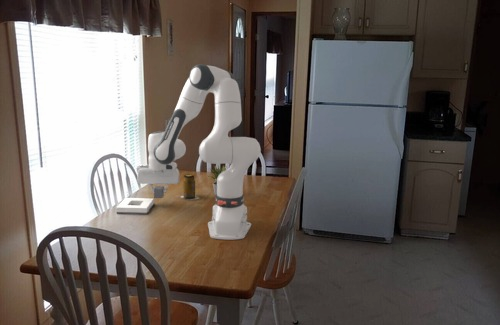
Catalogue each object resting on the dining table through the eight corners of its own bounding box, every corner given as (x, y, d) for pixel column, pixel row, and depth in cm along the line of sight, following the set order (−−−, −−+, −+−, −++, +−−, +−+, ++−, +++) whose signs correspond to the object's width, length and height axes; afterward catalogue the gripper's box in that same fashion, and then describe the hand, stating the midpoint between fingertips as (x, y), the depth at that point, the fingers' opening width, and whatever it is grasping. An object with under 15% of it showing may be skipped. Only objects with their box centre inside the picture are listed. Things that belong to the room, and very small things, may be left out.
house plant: (229, 200, 226) (229, 169, 222) (203, 198, 229) (203, 167, 225) (235, 192, 240) (236, 162, 236) (211, 190, 242) (211, 161, 238)
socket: (146, 214, 205) (146, 208, 204) (116, 213, 205) (116, 207, 204) (153, 204, 218) (153, 198, 218) (125, 203, 218) (125, 197, 218)
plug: (162, 198, 214) (161, 188, 213) (154, 198, 214) (153, 188, 213) (164, 195, 219) (163, 185, 218) (156, 195, 219) (155, 185, 218)
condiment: (191, 194, 235) (191, 172, 232) (200, 198, 229) (200, 176, 226) (179, 196, 230) (179, 174, 228) (188, 201, 224) (188, 178, 221)
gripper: (134, 165, 210) (136, 194, 213) (177, 166, 210) (178, 194, 213) (138, 163, 216) (139, 190, 219) (179, 163, 217) (180, 190, 219)
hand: (159, 192), depth 216 cm, fingers closed on plug, 4 cm apart
